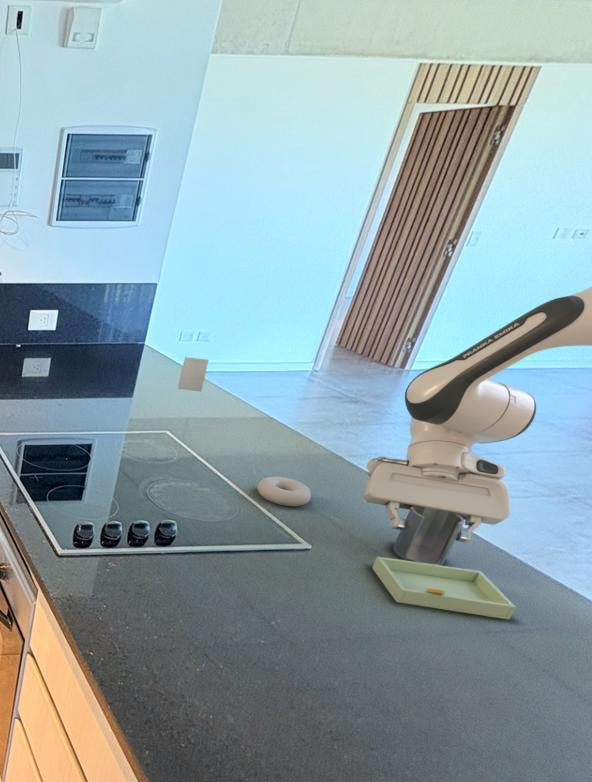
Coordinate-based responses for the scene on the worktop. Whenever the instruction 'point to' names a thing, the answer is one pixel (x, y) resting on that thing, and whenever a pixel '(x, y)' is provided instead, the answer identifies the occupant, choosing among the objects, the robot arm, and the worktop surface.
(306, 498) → the donut
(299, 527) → the worktop surface
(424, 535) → the steel cup
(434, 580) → the tray
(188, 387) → the pinkish tan block
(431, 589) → the key
